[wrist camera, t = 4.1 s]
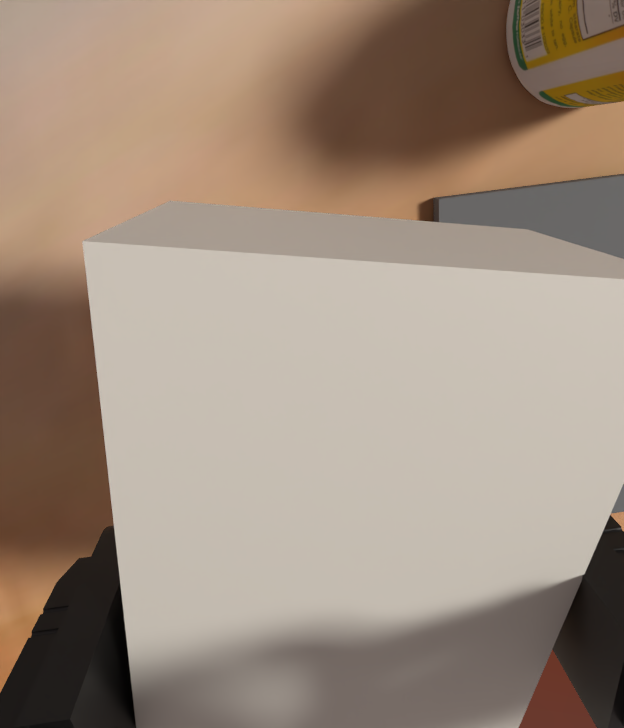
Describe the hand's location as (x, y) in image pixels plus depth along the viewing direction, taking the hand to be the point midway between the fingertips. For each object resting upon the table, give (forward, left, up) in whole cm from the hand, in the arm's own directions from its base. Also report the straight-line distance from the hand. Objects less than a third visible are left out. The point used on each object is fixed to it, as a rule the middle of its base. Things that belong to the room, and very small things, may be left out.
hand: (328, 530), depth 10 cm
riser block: (0, 0, -1) cm, 1 cm away
